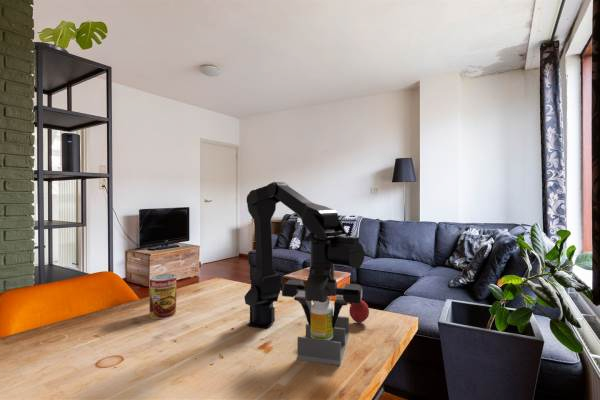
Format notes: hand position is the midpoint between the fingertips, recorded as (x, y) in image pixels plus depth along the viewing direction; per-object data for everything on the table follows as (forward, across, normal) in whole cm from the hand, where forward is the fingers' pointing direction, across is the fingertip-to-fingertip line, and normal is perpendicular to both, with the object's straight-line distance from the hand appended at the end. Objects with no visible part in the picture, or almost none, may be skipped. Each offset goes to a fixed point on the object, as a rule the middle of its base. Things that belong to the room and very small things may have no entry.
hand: (321, 326), depth 76 cm
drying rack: (+7, 0, +4) cm, 8 cm away
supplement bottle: (+3, 0, 0) cm, 3 cm away
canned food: (+7, -54, +11) cm, 55 cm away
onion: (+7, +7, +21) cm, 23 cm away
